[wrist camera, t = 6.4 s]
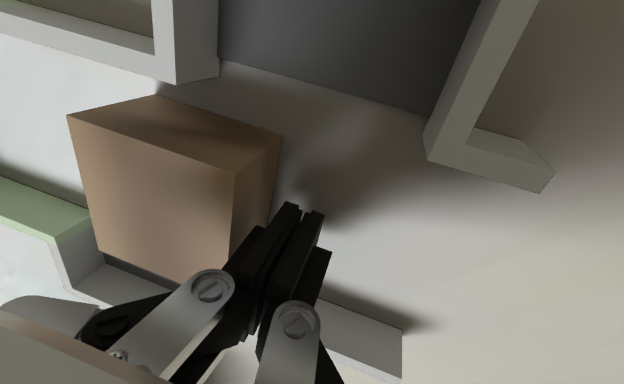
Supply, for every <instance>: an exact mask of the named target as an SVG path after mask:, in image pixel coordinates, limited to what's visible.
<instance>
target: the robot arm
mask: <svg viewBox="0 0 624 384" xmlns="http://www.w3.org/2000/svg"><path fill="white" fill-rule="evenodd" d="M302 212H303V211H302V210H300V209H299V205H296V204H293V203H290V202H287V201H286V202H285V203H284V204H283V206H282V207H281V208H280V210H279V211H278V213H277V214H276V215H275V217H274V218H273V220H272V221H271V222H270V224H269V225H268V227H267V228H264V227H262V226H259V225H256V226H255V227H254V228H253V229H252V230H251V232H250V233H249V234H248V236H247V237H246V238H245V239H244V241H243V242H242V243H241V245H240V246H239V247H238V248H237V250H236V251H235V252H234V254H233V255H232V256H231V257H230V259H229V260H228V261H227V262H226V264H225V265H224V266H223V268H222V269H221V270H220V269H205V270H202V271H200V272H198V273H196V274H195V275H193V276H192V277H191V278H189V279H188V280H187V281H186V282H185V283H184V284H183V285H181V286H180V287H179V288H178V289H177V290H175V291H171V292H167V293H163V294H159V295H156V296H152V297H148V298H144V299H140V300H136V301H132V302H128V303H124V304H120V305H116V306H113V307H110V308H107V309H100V307H99V305H94V304H87V303H81V302H75V301H68V300H62V299H56V298H49V297H43V296H24V297H19V298H16V299H13V300H11V301H9V302H7V303H5V304H3V305H2V306H0V384H203V383H204V382H205V381H206V379H207V378H208V377H209V375H210V374H211V373H212V371H213V370H214V369H215V367H216V366H217V365H218V363H219V362H220V361H221V359H222V358H223V357H224V355H225V353H226V352H227V350H228V348H230V347H232V346H235V345H238V343H239V341H241V342H245V340H246V338H247V336H248V334H250V335H254V334H255V332H256V330H257V328H258V326H259V324H260V326H259V331H258V336H257V337H258V340H257V345H256V350H255V353H256V356H257V359H258V361H259V368H258V372H257V375H256V379H255V382H254V384H344V382H343V380H342V378H341V376H340V374H339V373H338V371H337V369H336V367H335V365H334V363H333V362H332V360H331V358H330V356H329V354H328V352H327V351H326V349H325V347H324V345H323V343H322V341H321V340H320V329H321V324H320V318H319V316H318V313H317V312H316V311H315V309H314V307H315V304H316V301H317V298H318V295H319V291H320V288H321V285H322V282H323V279H324V276H325V273H326V270H327V267H328V264H329V261H330V258H331V255H332V252H331V251H328V250H325V249H323V248H320V247H317V246H316V245H317V241H318V238H319V235H320V231H321V228H322V224H323V221H324V218H325V214H322V213H319V212H316V211H313V210H312V212H311V213H308V212H306V213H305V215H304V216H303V218H302V220H301V217H302ZM300 221H301V222H300Z"/></svg>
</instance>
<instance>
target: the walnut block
mask: <svg viewBox="0 0 624 384" xmlns="http://www.w3.org/2000/svg"><path fill="white" fill-rule="evenodd" d="M66 118H67V122H68V126H69V130H70V134H71V138H72V142H73V146H74V151H75V155H76V159H77V163H78V167H79V171H80V175H81V179H82V183H83V188H84V192H85V196H86V200H87V204H88V208H89V212H90V216H91V221H92V225H93V229H94V233H95V237H96V241H97V245H98V249H99V250H100V251H102V252H104V253H107V254H109V255H112V256H114V257H117V258H119V259H121V260H124V261H126V262H129V263H131V264H134V265H136V266H138V267H141V268H143V269H146V270H148V271H151V272H153V273H155V274H158V275H160V276H163V277H165V278H168V279H170V280H172V281H175V282H177V283H180V284H182V285H183V284H184V283H185V282H186V281H187V280H188V279H189V278H191V277H192V276H193V275H195V274H196V273H198V272H200V271H202V270H205V269H220V270H221V269H222V268H223V266H224V265H225V264H226V262H227V261H228V260H229V259H230V257H231V256H232V255H233V254H234V252H235V251H236V250H237V248H238V247H239V246H240V245H241V243H242V242H243V241H244V239H245V238H246V237H247V236H248V234H249V233H250V232H251V230H252V229H253V228H254V227H255V226H256V225H259V226H262V227H264V228H267V223H268V217H269V211H270V205H271V199H272V194H273V188H274V182H275V176H276V170H277V165H278V159H279V153H280V147H281V141H282V135H280V134H277V133H274V132H271V131H268V130H265V129H261V128H258V127H255V126H252V125H249V124H246V123H243V122H240V121H237V120H233V119H230V118H227V117H224V116H221V115H218V114H215V113H212V112H209V111H206V110H202V109H199V108H196V107H193V106H190V105H187V104H184V103H181V102H178V101H174V100H171V99H168V98H165V97H162V96H159V95H156V94H154V95H150V96H145V97H141V98H137V99H133V100H128V101H124V102H120V103H115V104H111V105H107V106H102V107H98V108H94V109H89V110H85V111H81V112H76V113H72V114H68V115H66Z"/></svg>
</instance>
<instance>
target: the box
mask: <svg viewBox="0 0 624 384" xmlns="http://www.w3.org/2000/svg"><path fill="white" fill-rule="evenodd" d="M539 1H540V0H151V9H152V22H153V35H154V38H150V37H146V36H143V35H139V34H136V33H132V32H128V31H125V30H121V29H118V28H114V27H110V26H107V25H103V24H100V23H96V22H92V21H89V20H85V19H82V18H78V17H74V16H71V15H67V14H64V13H60V12H56V11H53V10H49V9H46V8H42V7H38V6H35V5H31V4H27V3H24V2H20V1H17V0H0V33H3V34H6V35H10V36H13V37H16V38H20V39H23V40H26V41H30V42H33V43H36V44H40V45H43V46H46V47H50V48H53V49H56V50H60V51H63V52H66V53H70V54H73V55H76V56H80V57H83V58H86V59H90V60H93V61H96V62H100V63H103V64H106V65H110V66H113V67H117V68H120V69H123V70H127V71H130V72H133V73H137V74H140V75H143V76H147V77H150V78H153V79H157V80H160V81H163V82H167V83H170V84H173V85H180V84H185V83H189V82H194V81H199V80H203V79H208V78H213V77H218V76H219V70H220V58H222V59H225V60H229V61H233V62H236V63H240V64H243V65H247V66H251V67H254V68H258V69H261V70H265V71H269V72H272V73H276V74H279V75H283V76H286V77H290V78H294V79H297V80H301V81H304V82H308V83H312V84H315V85H319V86H322V87H326V88H330V89H333V90H337V91H340V92H344V93H348V94H351V95H355V96H358V97H362V98H366V99H369V100H373V101H376V102H380V103H384V104H387V105H391V106H394V107H398V108H402V109H405V110H409V111H412V112H416V113H420V114H423V115H427V116H430V118H429V120H428V122H427V125H426V127H425V129H424V131H423V134H422V136H423V142H424V147H425V153H426V158H427V161H431V162H434V163H437V164H441V165H444V166H447V167H451V168H454V169H457V170H461V171H464V172H467V173H471V174H474V175H477V176H481V177H484V178H487V179H491V180H494V181H497V182H501V183H504V184H507V185H511V186H514V187H518V188H521V189H524V190H528V191H531V192H534V193H538V194H540V193H541V191H542V190H543V189H544V187H545V186H546V185H547V183H548V182H549V181H550V179H551V178H552V177H553V175H554V174H555V172H556V170H555V169H554V168H552V167H551V166H550V165H549V164H548V163H547V162H546V161H544V160H543V159H542V158H541V157H540V156H539V155H538V154H537V153H535V152H534V151H533V150H532V149H531V148H530V147H529V146H528V145H526V144H525V143H524V142H523V141H522V140H518V139H514V138H511V137H507V136H503V135H500V134H496V133H493V132H489V131H485V130H482V129H478V128H475V127H474V125H475V123H476V121H477V119H478V117H479V116H480V114H481V112H482V110H483V108H484V106H485V104H486V102H487V100H488V98H489V96H490V94H491V93H492V91H493V89H494V87H495V85H496V83H497V81H498V79H499V77H500V75H501V73H502V72H503V70H504V68H505V66H506V64H507V62H508V60H509V58H510V56H511V54H512V52H513V50H514V49H515V47H516V45H517V43H518V41H519V39H520V37H521V35H522V33H523V31H524V29H525V27H526V26H527V24H528V22H529V20H530V18H531V16H532V14H533V12H534V10H535V8H536V6H537V4H538V3H539ZM0 223H1V224H3V225H6V226H8V227H11V228H13V229H16V230H18V231H20V232H23V233H25V234H28V235H30V236H33V237H35V238H37V239H40V240H42V241H45V242H47V244H48V247H49V249H50V252H51V254H52V257H53V260H54V262H55V265H56V268H57V270H58V273H59V276H60V278H61V281H62V283H63V286H64V289H65V291H66V292H67V293H70V294H72V295H74V296H76V297H79V298H81V299H83V300H86V301H88V302H90V303H92V304H95V305H99V307H102V308H104V309H107V308H110V307H113V306H116V305H120V304H124V303H128V302H132V301H136V300H140V299H144V298H148V297H152V296H156V295H159V294H163V293H167V292H171V291H175V290H177V289H178V288H179V287H180V286H181V285H182V284H180V283H177V282H175V281H172V280H170V279H168V278H165V277H163V276H160V275H158V274H155V273H153V272H151V271H148V270H146V269H143V268H141V267H138V266H136V265H134V264H131V263H129V262H126V261H124V260H121V259H119V258H117V257H114V256H112V255H109V254H107V253H104V252H102V251H100V250H99V249H98V245H97V241H96V237H95V233H94V229H93V225H92V221H91V216H90V212H89V210H88V209H85V208H82V207H80V206H77V205H75V204H72V203H69V202H67V201H64V200H62V199H59V198H56V197H54V196H51V195H49V194H46V193H43V192H41V191H38V190H36V189H33V188H30V187H28V186H25V185H23V184H20V183H17V182H15V181H12V180H10V179H7V178H4V177H2V176H0ZM314 309H315V311H316V312H317V313H318V316H319V318H320V324H321V329H320V340H321V341H322V343H323V345H324V347H325V349H326V351H327V352H328V354H329V356H330V358H331V360H333V361H335V362H338V363H340V364H343V365H345V366H347V367H350V368H352V369H355V370H357V371H360V372H362V373H364V374H367V375H369V376H372V377H374V378H377V379H379V380H381V381H384V382H386V383H389V384H398V383H399V382H400V381H401V379H402V330H400V329H397V328H394V327H392V326H389V325H387V324H384V323H381V322H379V321H376V320H374V319H371V318H368V317H366V316H363V315H361V314H358V313H355V312H353V311H350V310H348V309H345V308H342V307H340V306H337V305H335V304H332V303H329V302H327V301H324V300H322V299H319V298H317V301H316V304H315V307H314ZM259 326H260V324H259ZM259 326H258V328H257V329H258V330H259Z"/></svg>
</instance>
